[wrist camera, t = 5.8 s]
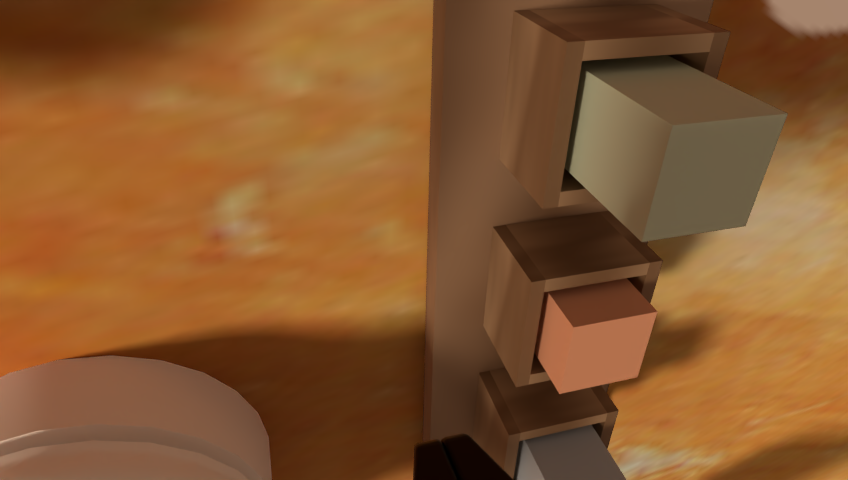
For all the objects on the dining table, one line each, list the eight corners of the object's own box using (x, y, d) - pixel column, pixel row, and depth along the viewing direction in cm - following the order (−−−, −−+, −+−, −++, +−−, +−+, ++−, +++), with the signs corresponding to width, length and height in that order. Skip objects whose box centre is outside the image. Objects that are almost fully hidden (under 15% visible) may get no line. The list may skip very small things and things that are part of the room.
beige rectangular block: (662, 52, 17) (788, 113, 13) (639, 147, 19) (745, 225, 15) (568, 59, 16) (673, 125, 13) (553, 157, 18) (641, 242, 14)
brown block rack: (711, -95, 19) (832, -80, 15) (580, 429, 32) (626, 504, 29) (435, -94, 16) (497, -76, 13) (422, 466, 30) (449, 552, 27)
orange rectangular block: (585, 233, 23) (657, 311, 19) (573, 293, 25) (637, 377, 21) (513, 243, 22) (573, 327, 18) (505, 305, 24) (559, 394, 20)
